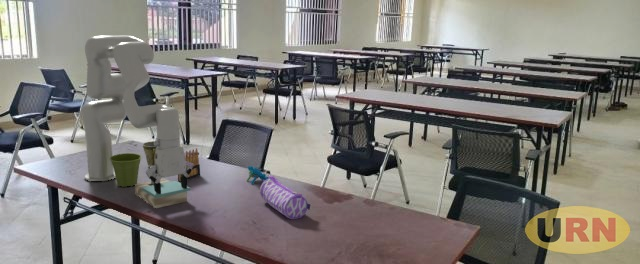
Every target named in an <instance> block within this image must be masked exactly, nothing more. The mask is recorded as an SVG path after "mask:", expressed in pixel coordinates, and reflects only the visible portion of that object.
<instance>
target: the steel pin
mask: <svg viewBox="0 0 640 264" xmlns="http://www.w3.org/2000/svg"><path fill="white" fill-rule="evenodd" d="M151 167H153V166H151ZM151 167H149V169H150V168H151ZM155 175H156V174H155V171H154V172H152V176H153V177H154V176H155ZM150 181H151V185H154V182H153V181H152V180H151V179H150ZM159 183H160V181H159Z"/></svg>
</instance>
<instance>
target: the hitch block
mask: <svg viewBox="0 0 640 264" xmlns="http://www.w3.org/2000/svg"><path fill="white" fill-rule="evenodd" d="M166 182H171V180H169V179H167V178H161V180H160V183H166ZM146 186H151V180H150V181H145V182H141V183H137V184H135V186H134V195H135V194H136V195H135V196H137V195H138V196H139V197H140V199H141V198H142V199H143V200H142V199H141V200H142V201H144V202H145V201H146V204H148V203H149V204H150V205H149V204H148V205H149V206H151V207H152V206H153V207H152V208H153V209H155V208H156V209H160V208H163V207H164V208H165V207H168V206H173V205H177V204H180V203H181V204H183V203H186V202H188V195H187V193H188V191H186V192H181V193H177V194H172V195H167V196H163V197H158V198H155V197H153V196H151V195H150V194H148V193H146V192H144V191H143V190H142V187H146ZM138 196H137V197H138ZM139 197H138V198H139Z"/></svg>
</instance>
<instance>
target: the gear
mask: <svg viewBox="0 0 640 264" xmlns="http://www.w3.org/2000/svg"><path fill="white" fill-rule="evenodd" d="M247 169H248V173H249V174H248V178H247V180H246V181H247V182H249V180H250V179H251V178H253V179H252V180H251V182H250V184H251V185H254V183H255V182H256V180H257V179H260V180H261V181H263V182H264V181H265V180H266V179H269V178H268V176H267V174H265V173H262V171H261V170H258V169H257V167H253V166H252V165H250V166H248V167H247Z"/></svg>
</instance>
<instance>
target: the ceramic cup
mask: <svg viewBox="0 0 640 264" xmlns="http://www.w3.org/2000/svg"><path fill="white" fill-rule="evenodd" d="M156 141H157V140H155V141H147V142H144V143H143V144H142V147H143V152H144V156H145V158H146V162H147V167H148V166H149V168H150V167H151V166H154V165H155V152H156V148H157V147H158V146H154V142H156Z"/></svg>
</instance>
